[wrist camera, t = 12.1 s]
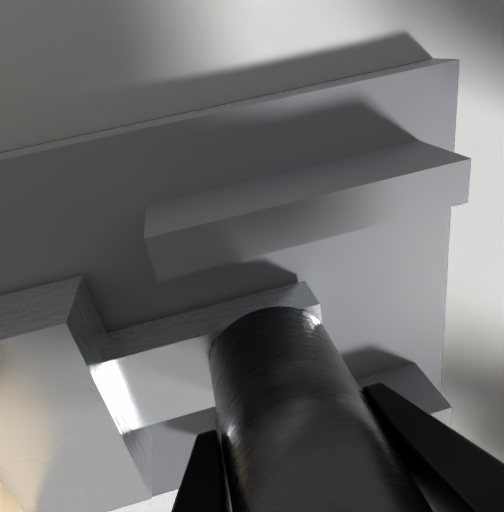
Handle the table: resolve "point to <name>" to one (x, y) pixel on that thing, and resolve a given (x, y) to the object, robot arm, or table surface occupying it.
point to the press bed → (259, 222)
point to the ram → (188, 405)
